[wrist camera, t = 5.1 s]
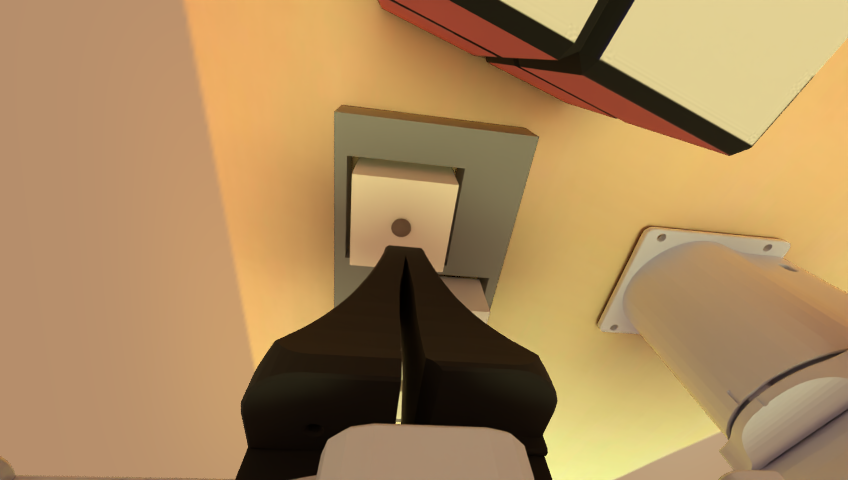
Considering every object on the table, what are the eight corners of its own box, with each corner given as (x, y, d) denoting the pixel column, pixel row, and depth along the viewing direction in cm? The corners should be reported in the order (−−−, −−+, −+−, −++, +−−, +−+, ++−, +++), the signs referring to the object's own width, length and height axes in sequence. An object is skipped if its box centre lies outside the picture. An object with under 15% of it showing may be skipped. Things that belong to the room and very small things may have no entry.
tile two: (479, 279, 19) (490, 313, 17) (464, 338, 22) (472, 376, 19) (398, 273, 19) (397, 307, 16) (392, 333, 21) (390, 372, 18)
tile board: (525, 128, 17) (539, 136, 15) (454, 399, 27) (457, 423, 25) (342, 104, 16) (334, 111, 14) (339, 395, 26) (334, 419, 24)
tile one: (451, 166, 17) (459, 186, 15) (437, 244, 19) (443, 273, 17) (359, 155, 17) (351, 174, 14) (356, 237, 19) (349, 266, 16)
